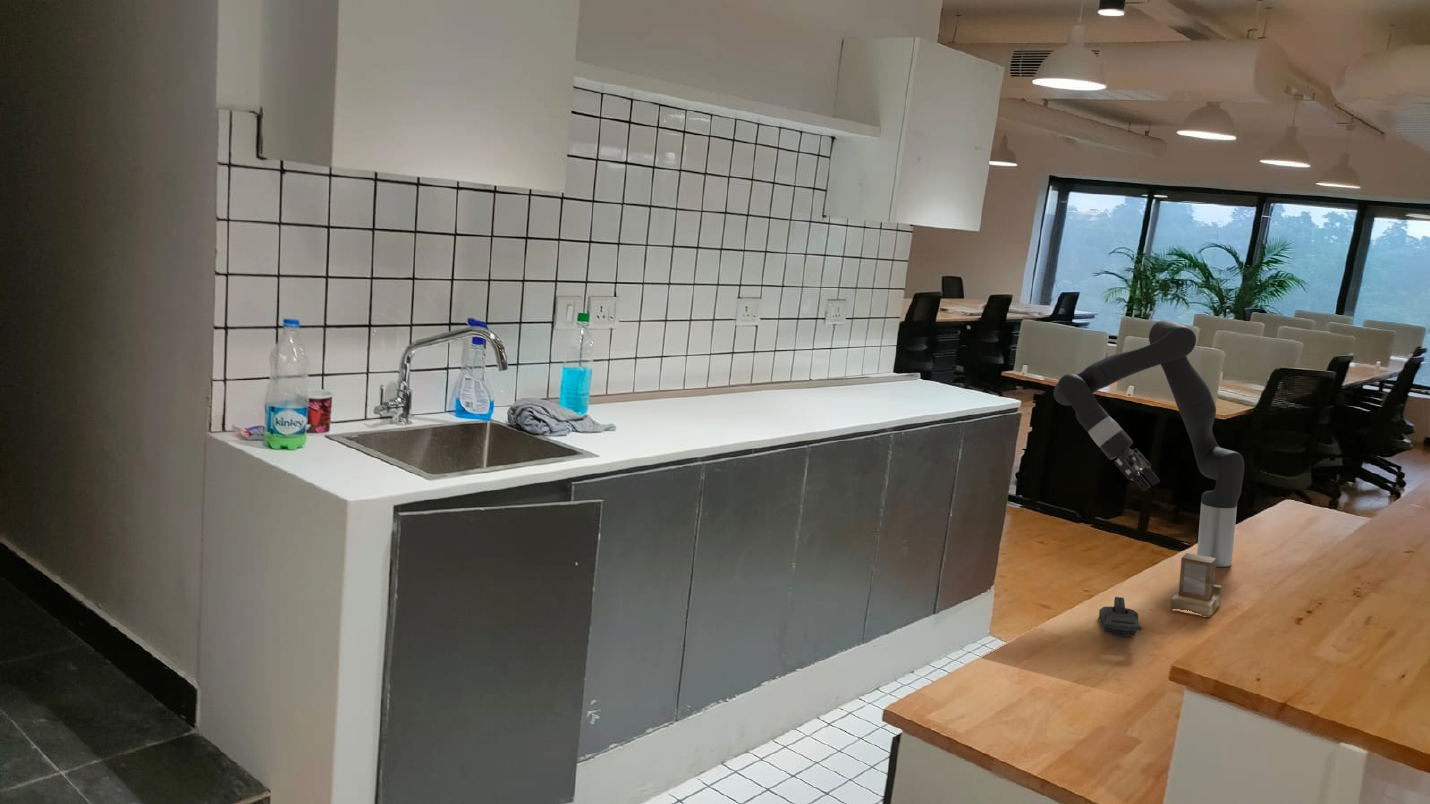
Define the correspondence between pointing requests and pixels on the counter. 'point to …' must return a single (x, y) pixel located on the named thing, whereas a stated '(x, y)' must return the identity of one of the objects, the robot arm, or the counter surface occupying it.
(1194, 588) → the frame
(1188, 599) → the ledge
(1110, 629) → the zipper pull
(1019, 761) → the counter surface
